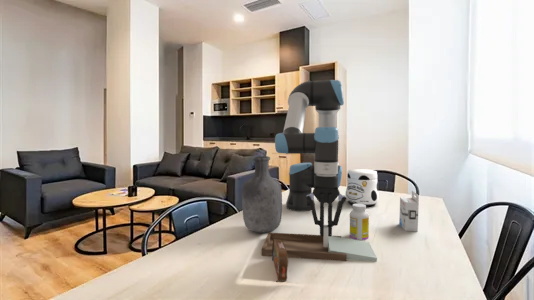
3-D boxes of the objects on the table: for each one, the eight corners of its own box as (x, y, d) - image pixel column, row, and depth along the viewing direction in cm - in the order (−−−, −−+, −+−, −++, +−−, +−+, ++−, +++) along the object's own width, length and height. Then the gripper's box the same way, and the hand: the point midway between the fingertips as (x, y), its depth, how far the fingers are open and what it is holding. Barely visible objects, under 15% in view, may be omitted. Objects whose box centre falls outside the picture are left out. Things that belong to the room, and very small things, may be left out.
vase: (287, 226, 115) (287, 155, 113) (272, 240, 100) (271, 159, 98) (254, 221, 121) (253, 154, 119) (235, 234, 107) (233, 158, 105)
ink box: (398, 223, 117) (399, 189, 116) (411, 224, 116) (412, 190, 115) (404, 231, 109) (405, 194, 108) (418, 231, 108) (419, 195, 107)
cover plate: (326, 240, 96) (327, 235, 96) (368, 247, 94) (368, 241, 93) (328, 256, 84) (329, 250, 84) (376, 264, 82) (377, 258, 82)
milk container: (345, 206, 144) (345, 173, 143) (345, 198, 160) (345, 168, 159) (380, 209, 139) (381, 174, 138) (377, 200, 155) (377, 169, 154)
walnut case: (268, 240, 101) (268, 232, 100) (341, 244, 97) (341, 236, 96) (261, 258, 86) (261, 249, 86) (346, 264, 82) (346, 254, 82)
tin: (271, 260, 85) (271, 234, 84) (281, 260, 85) (281, 234, 85) (277, 288, 70) (276, 256, 69) (289, 288, 70) (289, 256, 70)
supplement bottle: (368, 236, 103) (368, 203, 102) (368, 243, 97) (369, 208, 96) (349, 234, 105) (350, 202, 104) (349, 241, 99) (349, 206, 98)
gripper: (305, 176, 86) (305, 249, 87) (348, 176, 84) (347, 251, 85) (306, 172, 93) (306, 239, 95) (345, 173, 91) (344, 241, 93)
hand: (325, 245), depth 90 cm, fingers closed
